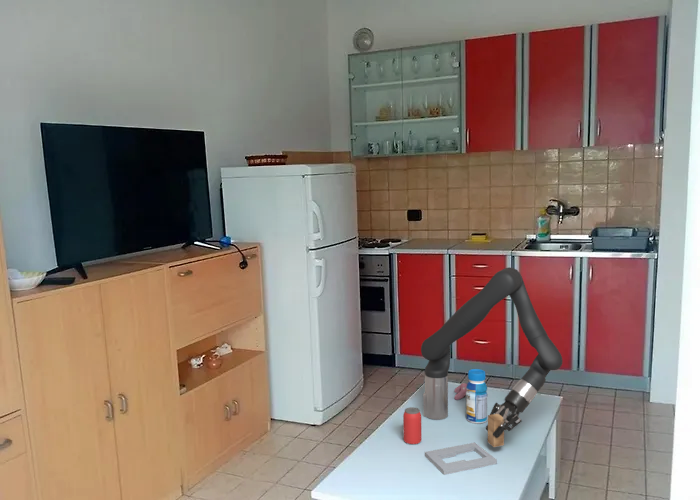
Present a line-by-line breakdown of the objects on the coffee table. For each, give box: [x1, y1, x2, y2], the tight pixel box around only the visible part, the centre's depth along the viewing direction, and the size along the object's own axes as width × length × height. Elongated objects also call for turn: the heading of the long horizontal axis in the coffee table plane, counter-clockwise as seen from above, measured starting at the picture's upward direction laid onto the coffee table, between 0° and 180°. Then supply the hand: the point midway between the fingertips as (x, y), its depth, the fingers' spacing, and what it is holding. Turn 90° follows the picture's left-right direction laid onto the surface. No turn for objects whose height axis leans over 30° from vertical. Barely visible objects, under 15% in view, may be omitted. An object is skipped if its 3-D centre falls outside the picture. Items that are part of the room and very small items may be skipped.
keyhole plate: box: [424, 442, 498, 476], centre depth 199 cm, size 20×14×2 cm
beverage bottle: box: [465, 368, 489, 425], centre depth 230 cm, size 8×8×20 cm
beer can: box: [402, 406, 422, 445], centre depth 213 cm, size 7×7×12 cm
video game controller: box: [454, 382, 468, 401], centre depth 256 cm, size 10×5×7 cm, turn 169°
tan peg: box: [487, 414, 505, 448], centre depth 203 cm, size 4×4×10 cm
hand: (491, 433), depth 202 cm, fingers closed on tan peg, 4 cm apart
